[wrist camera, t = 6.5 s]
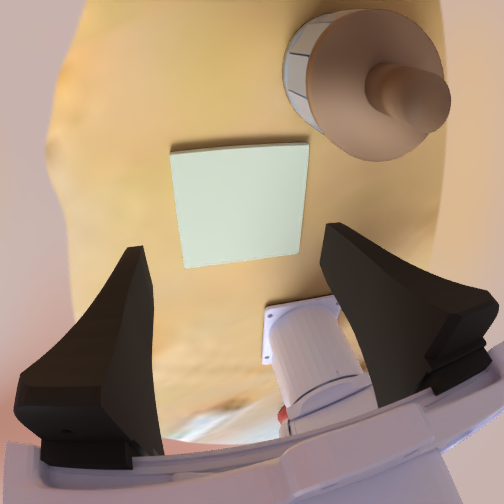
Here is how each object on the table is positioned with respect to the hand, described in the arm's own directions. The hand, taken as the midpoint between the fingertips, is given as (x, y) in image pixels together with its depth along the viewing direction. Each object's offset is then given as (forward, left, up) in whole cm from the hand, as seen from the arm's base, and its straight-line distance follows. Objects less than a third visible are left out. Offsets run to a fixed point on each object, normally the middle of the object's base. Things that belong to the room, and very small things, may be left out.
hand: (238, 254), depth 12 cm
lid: (+6, -9, -6) cm, 12 cm away
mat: (-3, -2, -10) cm, 11 cm away
